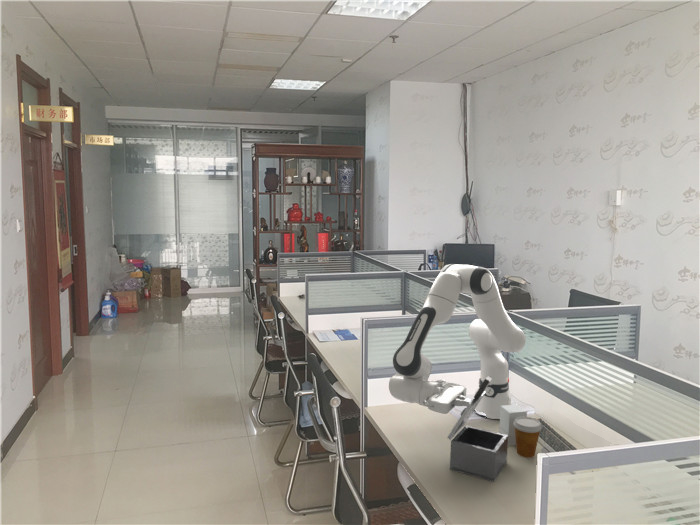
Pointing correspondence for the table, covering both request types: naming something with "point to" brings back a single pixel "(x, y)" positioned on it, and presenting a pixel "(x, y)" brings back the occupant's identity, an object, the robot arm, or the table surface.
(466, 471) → the open gray square box
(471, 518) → the table surface
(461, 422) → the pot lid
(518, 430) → the disposable coffee cup
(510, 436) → the supplement box
